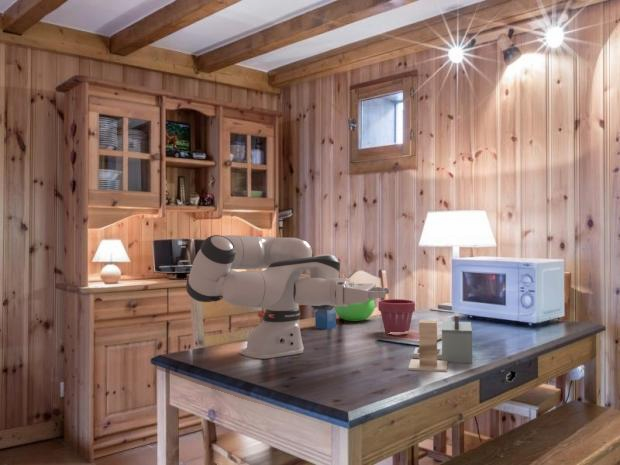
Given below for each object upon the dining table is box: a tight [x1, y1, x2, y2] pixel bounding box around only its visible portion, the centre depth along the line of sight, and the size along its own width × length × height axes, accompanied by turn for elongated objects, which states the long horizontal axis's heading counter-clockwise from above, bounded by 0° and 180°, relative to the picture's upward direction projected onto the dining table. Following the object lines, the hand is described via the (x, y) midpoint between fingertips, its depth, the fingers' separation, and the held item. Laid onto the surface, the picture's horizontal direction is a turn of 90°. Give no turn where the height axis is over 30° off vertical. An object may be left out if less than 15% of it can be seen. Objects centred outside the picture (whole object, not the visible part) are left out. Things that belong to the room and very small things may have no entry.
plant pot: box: [377, 298, 416, 334], centre depth 222 cm, size 14×14×13 cm
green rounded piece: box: [334, 298, 376, 322], centre depth 253 cm, size 18×17×15 cm
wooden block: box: [418, 319, 438, 367], centre depth 170 cm, size 5×5×13 cm
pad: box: [408, 358, 448, 373], centre depth 170 cm, size 11×11×1 cm
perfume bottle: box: [315, 308, 337, 330], centre depth 238 cm, size 6×6×12 cm
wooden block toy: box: [413, 310, 473, 364], centre depth 182 cm, size 16×18×14 cm
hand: (387, 292), depth 173 cm, fingers open, 8 cm apart
